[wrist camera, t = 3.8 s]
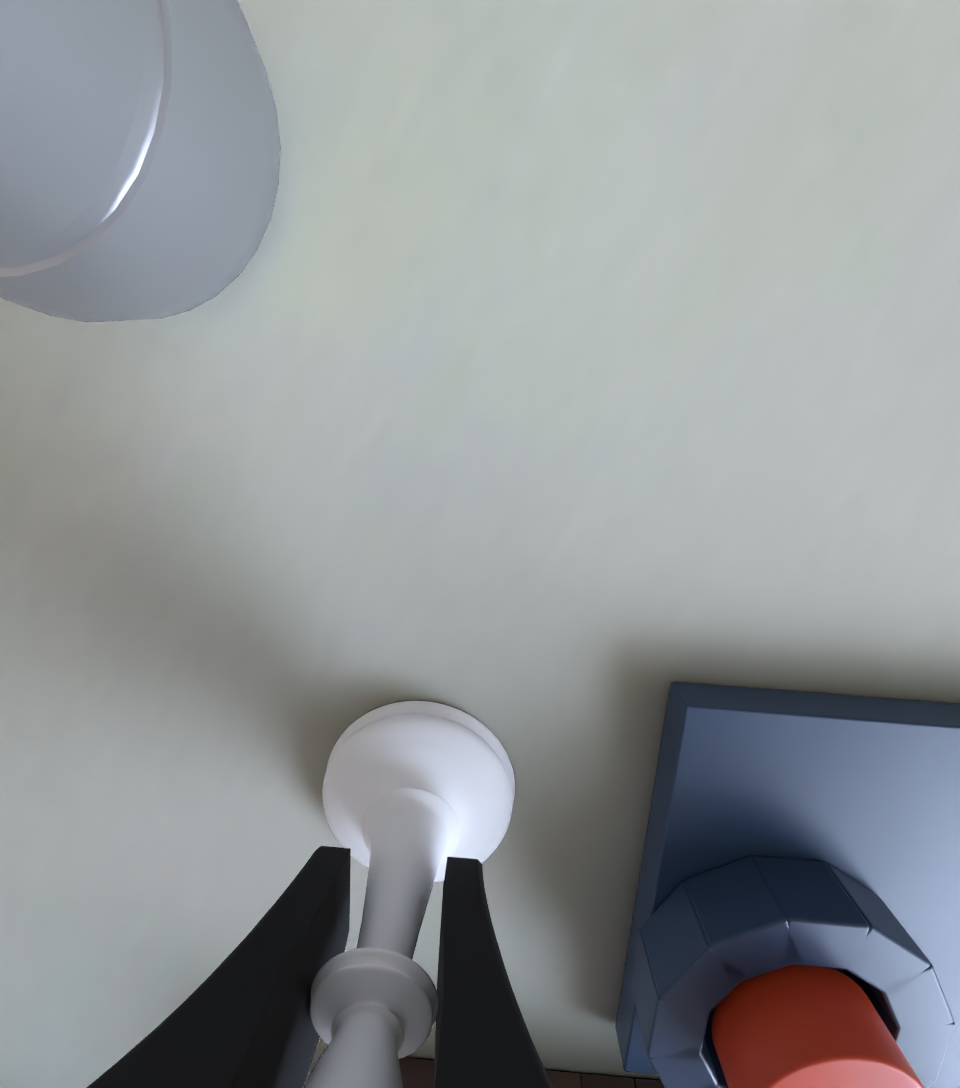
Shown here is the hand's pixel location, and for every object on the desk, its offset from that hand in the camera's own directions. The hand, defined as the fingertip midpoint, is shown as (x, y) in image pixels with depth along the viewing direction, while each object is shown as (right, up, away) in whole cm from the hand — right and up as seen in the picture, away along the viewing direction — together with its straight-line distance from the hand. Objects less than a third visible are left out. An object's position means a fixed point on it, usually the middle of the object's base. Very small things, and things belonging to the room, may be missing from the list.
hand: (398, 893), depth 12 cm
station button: (+9, -4, +1) cm, 10 cm away
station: (+10, -2, +4) cm, 11 cm away
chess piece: (0, +1, +3) cm, 4 cm away
